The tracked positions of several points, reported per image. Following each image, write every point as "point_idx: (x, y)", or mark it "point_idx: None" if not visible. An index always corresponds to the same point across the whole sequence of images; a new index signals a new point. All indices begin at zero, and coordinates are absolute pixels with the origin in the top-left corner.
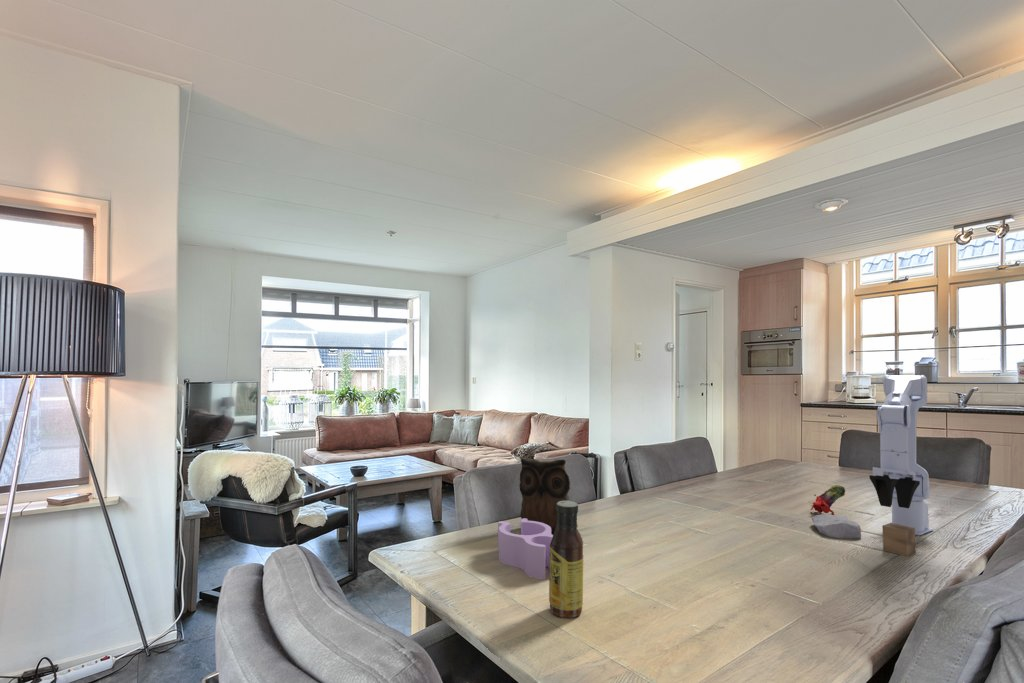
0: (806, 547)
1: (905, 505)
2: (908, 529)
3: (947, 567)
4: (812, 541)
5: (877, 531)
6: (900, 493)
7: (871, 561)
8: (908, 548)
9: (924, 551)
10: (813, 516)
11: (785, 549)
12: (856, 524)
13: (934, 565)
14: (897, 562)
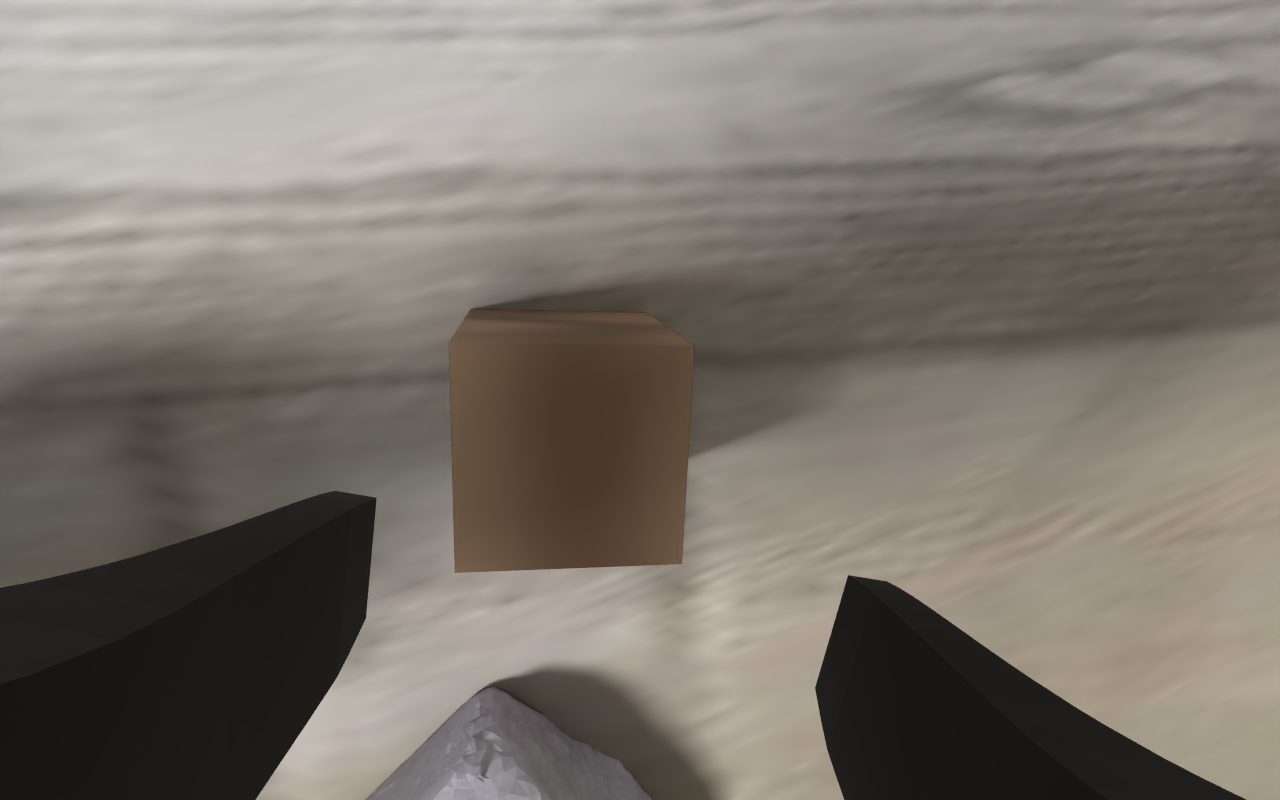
0: None
1: (357, 547)
2: (598, 356)
3: (674, 16)
4: None
5: None
6: (231, 773)
7: (987, 408)
8: (621, 319)
9: (372, 273)
10: None
11: None
12: (487, 791)
13: (710, 101)
14: (868, 298)
